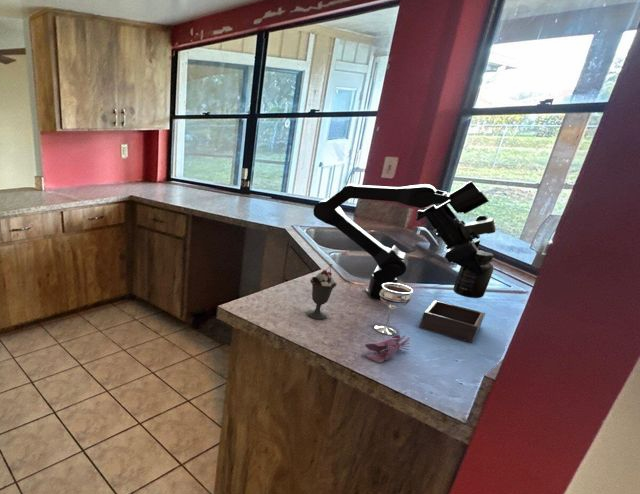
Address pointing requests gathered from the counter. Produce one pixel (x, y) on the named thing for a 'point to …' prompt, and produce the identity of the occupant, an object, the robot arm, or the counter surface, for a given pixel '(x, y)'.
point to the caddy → (452, 320)
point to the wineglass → (393, 302)
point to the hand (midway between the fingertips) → (482, 271)
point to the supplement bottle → (475, 278)
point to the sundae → (321, 292)
